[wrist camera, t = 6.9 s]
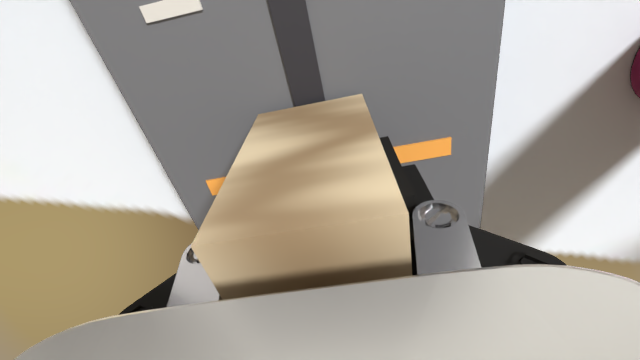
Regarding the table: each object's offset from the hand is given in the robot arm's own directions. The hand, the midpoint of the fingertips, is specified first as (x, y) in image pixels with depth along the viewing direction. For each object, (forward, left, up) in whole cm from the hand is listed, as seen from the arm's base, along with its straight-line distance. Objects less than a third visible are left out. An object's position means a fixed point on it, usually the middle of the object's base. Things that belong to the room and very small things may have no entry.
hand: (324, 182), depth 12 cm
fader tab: (0, 0, -1) cm, 1 cm away
